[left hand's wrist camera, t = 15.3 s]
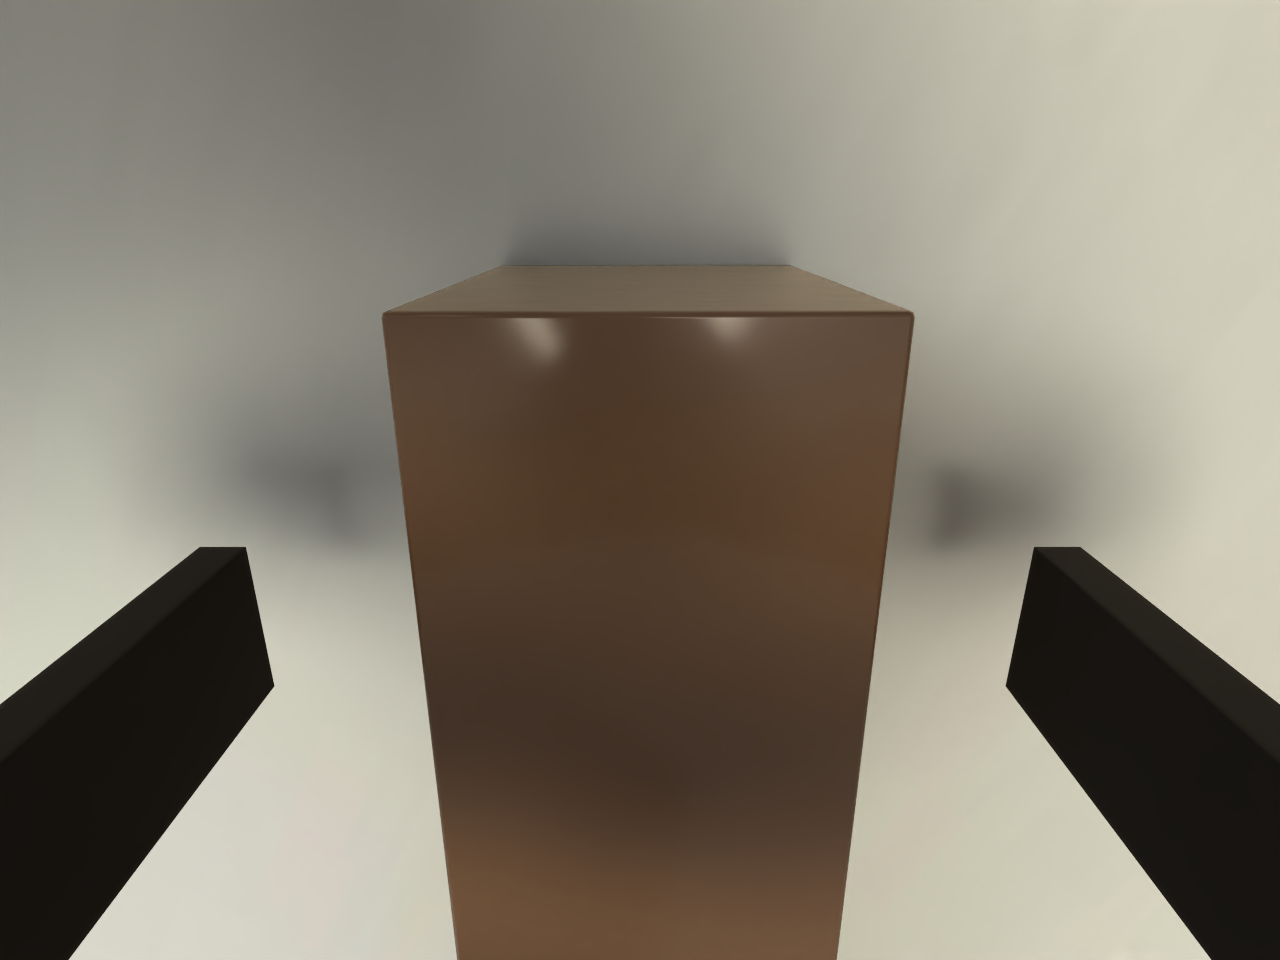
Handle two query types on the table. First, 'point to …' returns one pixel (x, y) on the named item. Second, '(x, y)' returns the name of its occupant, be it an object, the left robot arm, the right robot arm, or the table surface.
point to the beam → (647, 598)
